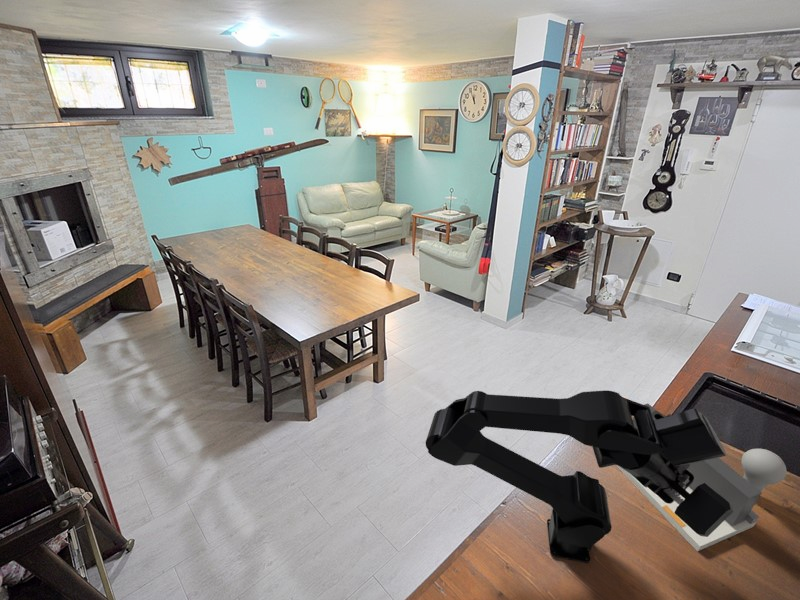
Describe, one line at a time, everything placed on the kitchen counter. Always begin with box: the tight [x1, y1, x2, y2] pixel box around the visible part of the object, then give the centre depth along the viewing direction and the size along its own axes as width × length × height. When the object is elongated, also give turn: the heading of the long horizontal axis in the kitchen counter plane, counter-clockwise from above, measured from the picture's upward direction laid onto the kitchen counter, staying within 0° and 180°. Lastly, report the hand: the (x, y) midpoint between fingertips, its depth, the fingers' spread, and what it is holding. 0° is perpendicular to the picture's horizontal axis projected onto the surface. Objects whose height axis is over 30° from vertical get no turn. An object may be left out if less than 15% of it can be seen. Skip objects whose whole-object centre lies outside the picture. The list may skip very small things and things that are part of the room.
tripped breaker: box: [688, 457, 763, 526], centre depth 71 cm, size 3×10×8 cm, turn 17°
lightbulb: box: [740, 448, 787, 492], centre depth 73 cm, size 6×6×11 cm
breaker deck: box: [615, 463, 760, 552], centre depth 78 cm, size 13×24×3 cm, turn 17°
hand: (674, 483), depth 66 cm, fingers closed
